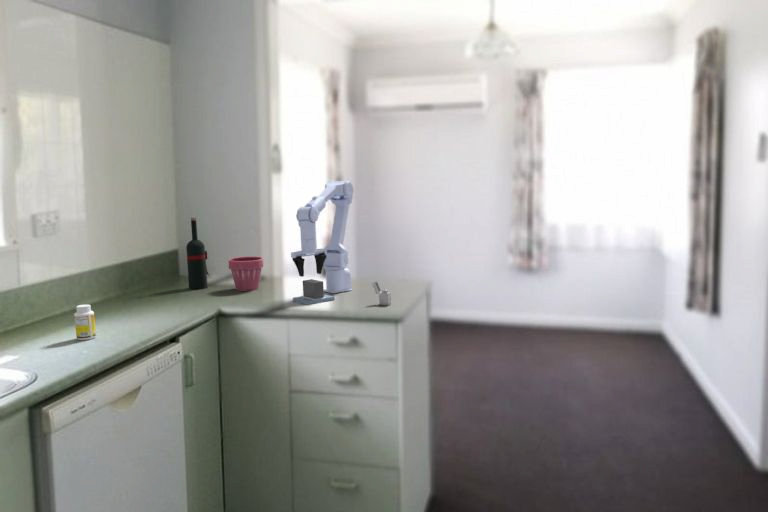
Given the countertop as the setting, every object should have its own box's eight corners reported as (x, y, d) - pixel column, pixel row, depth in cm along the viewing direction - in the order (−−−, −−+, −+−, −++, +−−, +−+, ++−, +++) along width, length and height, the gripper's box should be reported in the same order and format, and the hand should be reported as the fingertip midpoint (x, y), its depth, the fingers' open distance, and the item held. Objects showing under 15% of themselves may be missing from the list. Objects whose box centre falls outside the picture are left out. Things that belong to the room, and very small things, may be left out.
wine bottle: (215, 285, 304) (210, 216, 300) (199, 290, 295) (193, 218, 291) (201, 285, 308) (196, 216, 304) (184, 289, 299) (179, 218, 295)
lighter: (391, 304, 252) (390, 282, 251) (388, 305, 250) (387, 283, 249) (375, 302, 256) (374, 280, 255) (372, 303, 254) (371, 281, 253)
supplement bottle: (90, 335, 220) (87, 303, 219) (99, 337, 217) (96, 305, 215) (73, 339, 216) (70, 306, 215) (82, 341, 212) (79, 308, 211)
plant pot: (270, 289, 292) (268, 258, 290) (238, 293, 284) (236, 262, 282) (256, 284, 304) (254, 255, 302) (225, 288, 296) (223, 258, 294)
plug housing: (312, 294, 268) (311, 279, 268) (323, 297, 262) (323, 281, 261) (303, 296, 266) (302, 280, 265) (314, 299, 260) (313, 283, 259)
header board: (320, 296, 272) (320, 285, 271) (334, 299, 264) (333, 288, 263) (293, 300, 265) (292, 289, 264) (306, 304, 257) (305, 292, 256)
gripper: (319, 236, 270) (321, 271, 272) (286, 240, 262) (288, 276, 264) (329, 237, 265) (331, 273, 267) (295, 241, 256) (297, 278, 258)
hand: (310, 274), depth 265 cm, fingers open, 7 cm apart
